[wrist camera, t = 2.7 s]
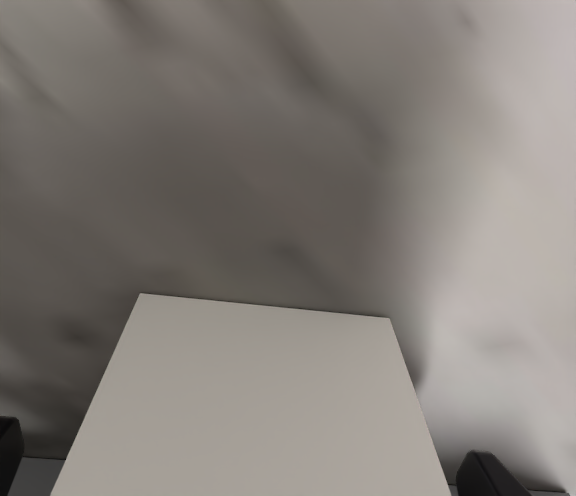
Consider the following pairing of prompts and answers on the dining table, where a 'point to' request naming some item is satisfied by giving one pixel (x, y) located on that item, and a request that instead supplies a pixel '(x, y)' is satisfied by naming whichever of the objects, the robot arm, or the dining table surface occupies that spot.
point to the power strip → (44, 472)
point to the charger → (252, 407)
